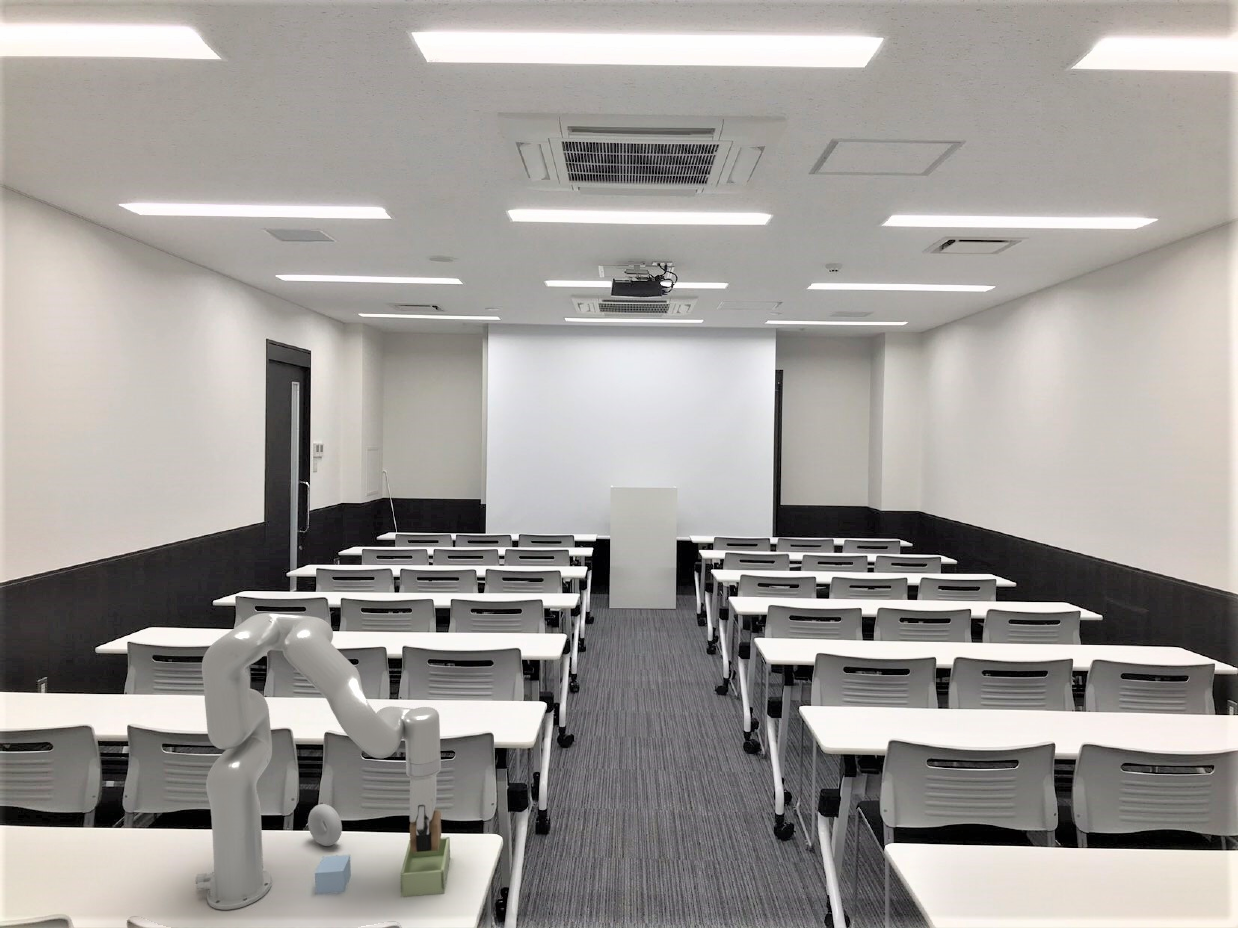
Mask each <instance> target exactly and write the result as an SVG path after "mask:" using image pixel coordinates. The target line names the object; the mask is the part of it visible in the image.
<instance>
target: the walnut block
mask: <svg viewBox="0 0 1238 928" xmlns="http://www.w3.org/2000/svg"><path fill="white" fill-rule="evenodd" d="M441 815H442V814H441V809H439V810H438V809H434V814H433V818H432V820H431V821H430V832H431V845H432V848H431V850H430V851H436V850H438V849H439V844H440V839H441V838H442V823H441V822H442V820H441V819H442V818H441ZM424 819H428V817H427V816H425V818H424ZM424 826H426V828H427V822H425V823H424ZM416 827H417V818H416V820H415V822H413V823H411V822H410V824H409V840H410V852H411V853H412V852H417V850H416ZM421 852H424V851H421Z"/></svg>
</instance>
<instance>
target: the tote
mask: <svg viewBox="0 0 1238 928" xmlns="http://www.w3.org/2000/svg"><path fill="white" fill-rule="evenodd" d="M450 840H451V839H450V836H446V837H445V836H444V837H441V839H440V844H439V849H438V850H436V851H424V852H412V853H411V852H410V839H409V841H408V844H407V847H406V852H405V856H404V860H403V864H402V867H401V871H400V874H399V875H400V876H399V877H400V879H399V880H400V882H399V883H400V897H401V898H406V897H414V896H415V897H416V896H417V897H418V896H427V895H428V896H429V895H438V894H439V895H441V894H445V890H446V884H447V880H448V879H447V877H448V871H449V867H450V859H451V848H450V847H451V845H450V844H451V841H450Z"/></svg>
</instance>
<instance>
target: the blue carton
mask: <svg viewBox="0 0 1238 928" xmlns="http://www.w3.org/2000/svg"><path fill="white" fill-rule="evenodd" d="M351 867H352V866H351V855H350V854H343V855H327V856H322V857H321V859H320V861H319V864H318V866H317V868H316V870H315V871H314V885H315V887H314V888H315V895H323V894H325V895H327V894H339V893H341V894H343V893H345V892H346V889H347V887H348V883H349V881H350V878H351V876H352V869H351Z"/></svg>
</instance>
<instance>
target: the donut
mask: <svg viewBox="0 0 1238 928" xmlns="http://www.w3.org/2000/svg"><path fill="white" fill-rule="evenodd" d="M307 824H308V825H307V826H308V831H309V832H310V835H311V837H312V838H313V840H314V841H316V842H317V844H319V845H321V846H324V847H330V846H333V845H335V844H336V843H337V842H338V841H339V840H340V838H341V835H342V831H343V825H342V820H341V816H340V815H339V814H338V812H337V810H335V808H334V807H332V806H331V805H329V804H325V803H320V804H317V805H315V806H313V808H312V809H311V810H310V812H309V814H308V819H307Z"/></svg>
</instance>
